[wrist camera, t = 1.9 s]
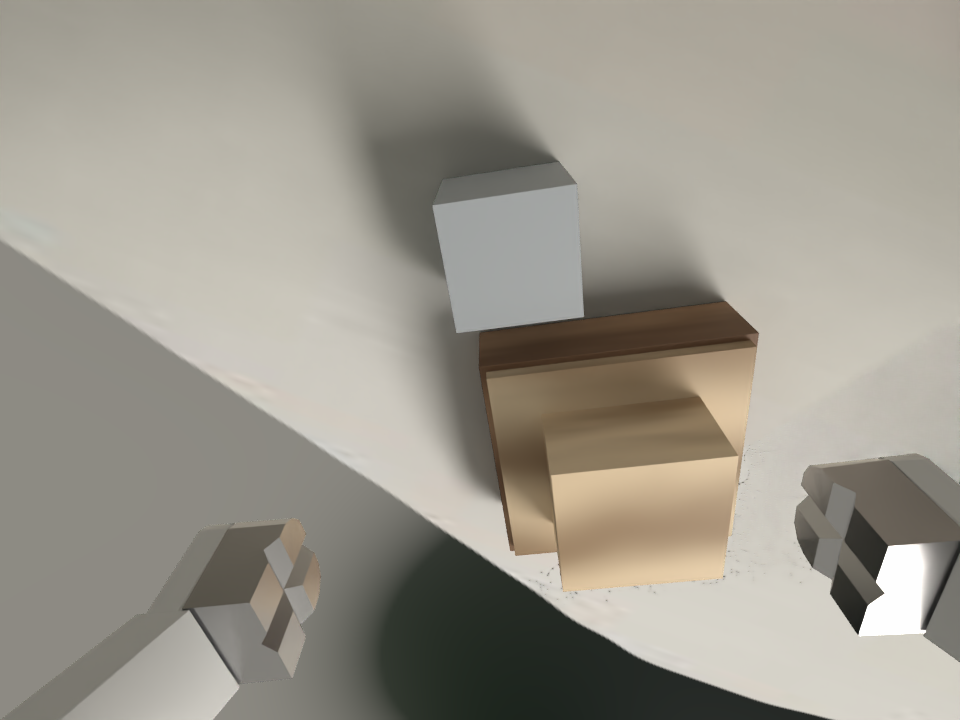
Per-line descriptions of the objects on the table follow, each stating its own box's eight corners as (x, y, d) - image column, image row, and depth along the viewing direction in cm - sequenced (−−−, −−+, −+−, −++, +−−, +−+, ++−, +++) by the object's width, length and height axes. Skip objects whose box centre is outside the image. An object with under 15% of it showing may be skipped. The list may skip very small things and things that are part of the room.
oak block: (541, 414, 23) (551, 475, 20) (699, 396, 23) (738, 455, 19) (553, 523, 27) (563, 591, 23) (690, 510, 26) (722, 578, 22)
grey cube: (442, 178, 22) (432, 205, 18) (558, 161, 22) (577, 183, 17) (461, 286, 25) (456, 333, 20) (566, 272, 24) (583, 316, 20)
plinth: (479, 332, 26) (478, 374, 22) (725, 301, 25) (765, 339, 21) (507, 505, 31) (510, 559, 28) (708, 485, 30) (736, 539, 27)
